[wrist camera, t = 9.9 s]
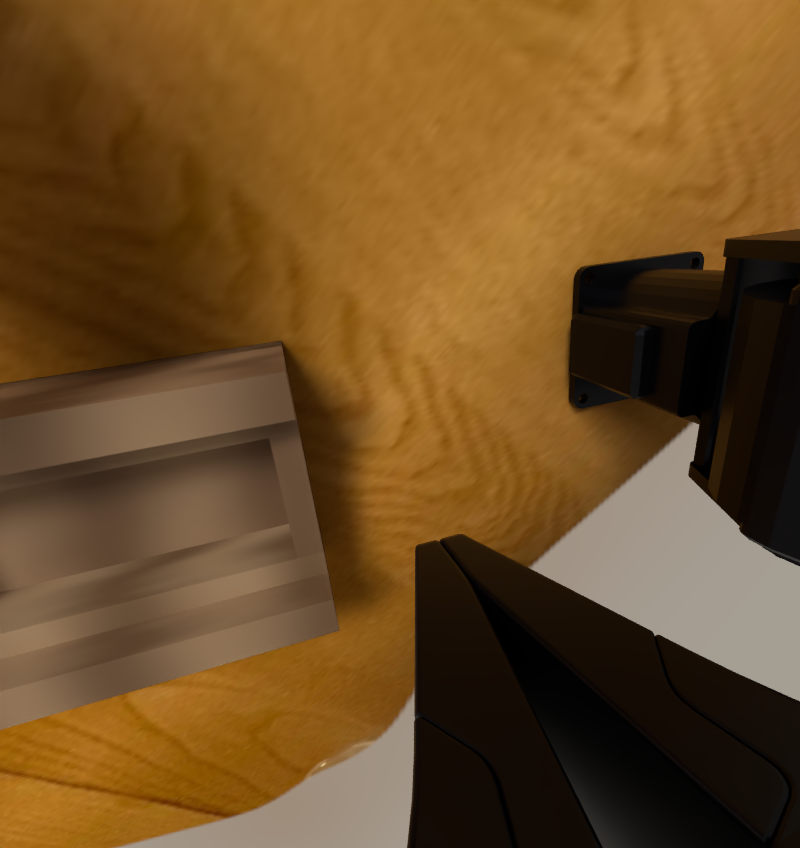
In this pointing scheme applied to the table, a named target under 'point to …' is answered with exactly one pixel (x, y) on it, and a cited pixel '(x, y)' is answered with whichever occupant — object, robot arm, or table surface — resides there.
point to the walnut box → (152, 527)
